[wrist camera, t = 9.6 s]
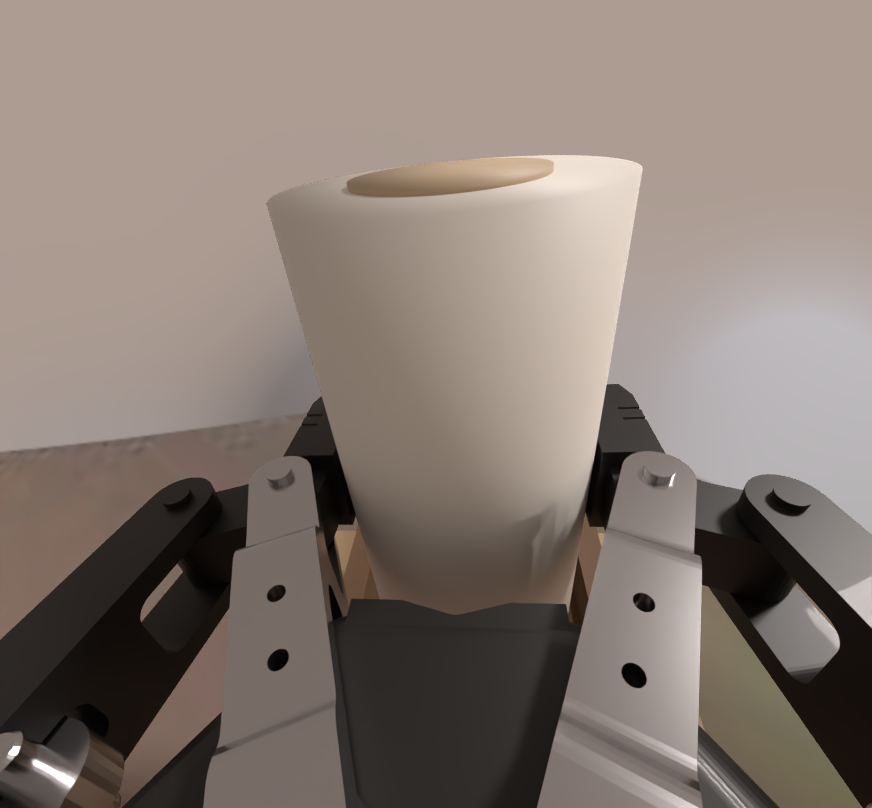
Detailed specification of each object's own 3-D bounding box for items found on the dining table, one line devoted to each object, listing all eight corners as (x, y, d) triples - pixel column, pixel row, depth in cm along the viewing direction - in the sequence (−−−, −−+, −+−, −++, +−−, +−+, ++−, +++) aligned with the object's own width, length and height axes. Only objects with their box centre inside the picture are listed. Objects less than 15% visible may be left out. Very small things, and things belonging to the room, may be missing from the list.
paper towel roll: (387, 738, 13) (181, 222, 5) (410, 576, 18) (327, 167, 9) (573, 749, 13) (726, 178, 4) (546, 578, 17) (591, 142, 9)
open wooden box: (206, 937, 13) (132, 917, 10) (334, 542, 24) (315, 485, 21) (791, 1009, 11) (882, 1007, 8) (628, 545, 22) (645, 484, 20)
